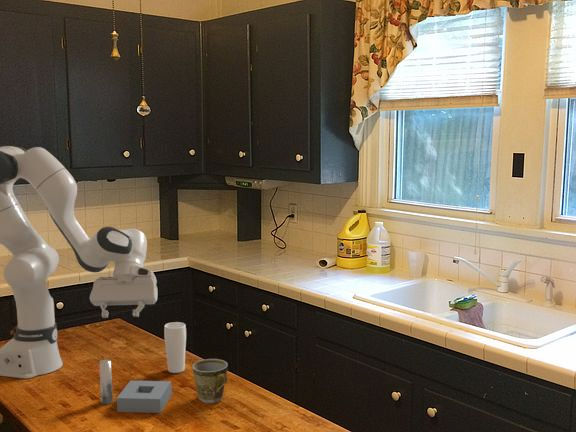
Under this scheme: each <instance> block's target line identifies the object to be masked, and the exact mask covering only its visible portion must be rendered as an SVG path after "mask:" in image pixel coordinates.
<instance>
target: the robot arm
mask: <svg viewBox="0 0 576 432" xmlns="http://www.w3.org/2000/svg"><path fill="white" fill-rule="evenodd" d="M22 180H25V181H26V182H28V183H29V184H30V185H31V186H32V187H33V189H34V190H35V192H36V193H37V194H38V195H39V197H40V198H41V199H42V200H43V202H44V204H45V205H46V208H47V210H48V213H49V216H50V218H51V219H52V220H51V221H53V223H54V224H55V226H56V227H57V229H58V230H59V232H60V233H61V235H62V236H63V238H64V239H65V240H66V242H67V243H68V245H69V246H70V247H71V249H72V251H73V252H74V255H75V258H76V261H77V263H78V264H79V266H80V267H81V268H82V269H83V270H85V271H87V272H90V273H95V274H96V273H100V272H102V271H104V270H105V269H106V268H107V267H108V266H109V264H110V263H111V262H113V263H114V268H113V273H112V274H113V275H112V276H106V277H104V276H100V277H99V278H96V279H95V280H94V281H93V286H92V289H91V292H90V295H89V300H90V303H91V304H92V305H93V306H95V307H97V306H98V307H100V309H101V317H102V319H103V318H104V319H107V318H109V314H110V313H109V311H108V310H107V306H133V305H134V306H136V305H137V307H136V308H135V309H132V316H133V318H139V316H140V313H141V312H142V311H143V309H145V305H155V304H156V302H157V301H158V286H157V283H158V281H157V277H156V275H155V273H154V271H152V270H151V269H150V268H145V267H144V263H145V261H146V258H147V250H148V249H147V248H148V240H147V237H146V235H145V233H143V232H142V231H141V230H139V229H137V228H130V227H129V228H127V229H118V228H115V227H113V226H104V227H101V228H100V229H99V230H97V232H95V233H94V234H93V235H92V237H89V236H88V235H87V233H86V231H85V230H84V229H83V227H82V225H80V223H79V221H78V220H77V218H76V216H75V203H76V198H77V195H78V184H77V182H76V180H75V178H74V177H73V175H72V174H71V172H69V170H68V169H66V167H65V166H64V165H63V164H62V163H61V162H60V161H59V160H58V159H57V158H56V157H55V156H54V155H53V154H52V153H51V152H49V151H48V150H47V149H46V148H43V147H40V146H34V147H32V148H29V149H26V148H24V147H22V146H18V145H3V146H0V245H2V246H3V247H5V248H6V250H8V251H9V252H10V253H11V254H12V257H11V258H10V259H9V261H7V263H6V265H5V266H4V269H3V278H4V281H5V283H7V285H8V286H10V288H11V292H12V294H13V298H14V301H15V306H16V317H17V318H16V319H17V325H16V326H15V327H13V329H12V330H10V331H9V332H10V335H13V337H12V338H11V339H10V340H9V341H8V342H7V343H5V344H4V345H3V346H2V347H0V377H7V378H10V377H11V378H16V379H17V378H18V379H26V380H27V379H30V378H33V377H37V376H41V375H47V374H49V373H53V372H56V371H57V370H59V369H61V367H63V364H64V362H63V360H62V358H61V355H60V351H59V346H58V328H57V327H58V326H57V322H55V321H56V318H55V303H54V298H53V297H52V296H51V295H50V291H49V288H48V285H47V279H48V278H49V277H50V276H51V275H53V274H54V273H55V271H56V270H57V268H58V266H59V263H60V257H59V253H58V252H57V250H56V249H55V248H54V247H52V246H50V245H49V244H48V243H47V242H46V241H45V240H44V238H43V237H42V235H40V234H39V233H38V231H37V230H36V229H35V228H34V227H33V225H32V223H31V222H30V220H29V218H28V216H27V215H26V213H25V211H24V209H23V208H22V206H21V203H19V201H18V199H17V198H16V195H15V194H14V190H13V187H14V185H15V186H17V185H19V183H20V182H21V181H22Z"/></svg>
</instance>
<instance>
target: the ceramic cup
mask: <svg viewBox="0 0 576 432" xmlns="http://www.w3.org/2000/svg"><path fill="white" fill-rule="evenodd" d="M228 365H229V364H228V362H227V361H226V360H223V359H219V358H208V359H207V358H206V359H202V360H201V359H200V360H198V361H196V362H194V363H193V364H192V373H193V378H194V382H195V387H196V392H197V396H198V400H199V401H201V402H202V403H204V404H216V403H218V402H221V401H222V399H223V397H224V389H225V385H226V384H227V382H228V378H227V374H228V373H227V372H228V367H229V366H228Z"/></svg>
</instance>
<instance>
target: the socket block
mask: <svg viewBox="0 0 576 432" xmlns="http://www.w3.org/2000/svg"><path fill="white" fill-rule="evenodd" d="M172 395H173V394H172V381H165V380H129V382H128V383H127V384H126V386H125V387H124V388H123V390H121V392H120V393H119V394H118V396H117V397H116V410H117V411H116V412H117V413H146V414H148V413H149V414H150V413H151V414H152V413H153V414H161V413H162V412H163V410H164V408H165V406H166V404H167V402H168V401H169V399H170V398H171V396H172Z"/></svg>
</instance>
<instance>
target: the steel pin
mask: <svg viewBox="0 0 576 432" xmlns="http://www.w3.org/2000/svg"><path fill="white" fill-rule="evenodd" d="M112 372H113V371H112V360H111V359H105V358H104V359H101V360H99V380H100V381H99V382H100V383H99V384H100V385H99V387H100V403H101V404H102V405H110V404H112V403H114V395H113V392H114V391H113V375H112Z"/></svg>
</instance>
